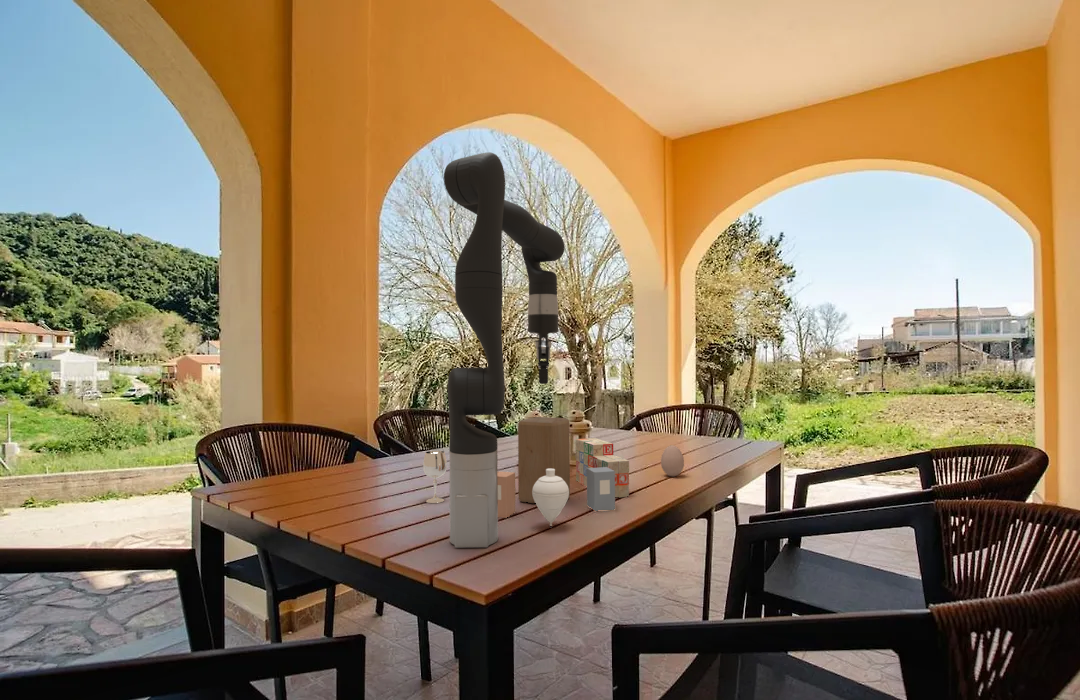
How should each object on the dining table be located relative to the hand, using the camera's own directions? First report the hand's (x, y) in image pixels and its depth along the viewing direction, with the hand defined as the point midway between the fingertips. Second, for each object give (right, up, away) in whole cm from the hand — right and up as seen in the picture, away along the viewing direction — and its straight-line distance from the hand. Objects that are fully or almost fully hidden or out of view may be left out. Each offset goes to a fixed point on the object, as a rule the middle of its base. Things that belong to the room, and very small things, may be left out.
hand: (543, 383), depth 137 cm
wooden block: (0, -29, 0) cm, 29 cm away
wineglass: (-27, -29, 0) cm, 40 cm away
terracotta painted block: (-10, -29, -12) cm, 33 cm away
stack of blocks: (+15, -29, +11) cm, 35 cm away
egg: (+38, -29, +26) cm, 55 cm away
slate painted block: (+13, -29, -8) cm, 33 cm away
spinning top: (+1, -29, -22) cm, 36 cm away
